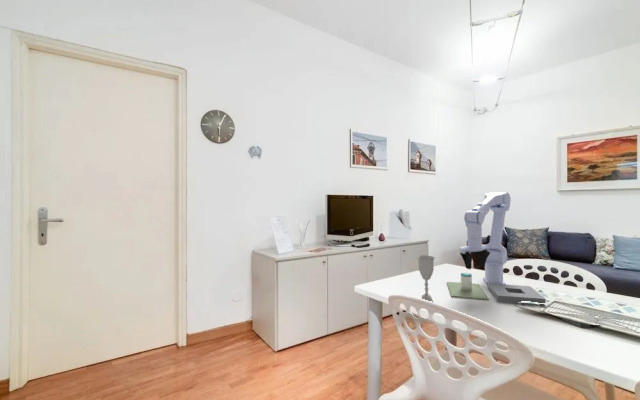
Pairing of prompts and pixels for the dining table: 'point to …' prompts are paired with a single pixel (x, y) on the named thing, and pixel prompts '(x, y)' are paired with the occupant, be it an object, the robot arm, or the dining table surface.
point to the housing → (515, 293)
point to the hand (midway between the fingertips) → (475, 267)
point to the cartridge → (466, 281)
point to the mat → (474, 294)
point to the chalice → (426, 272)
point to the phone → (577, 323)
